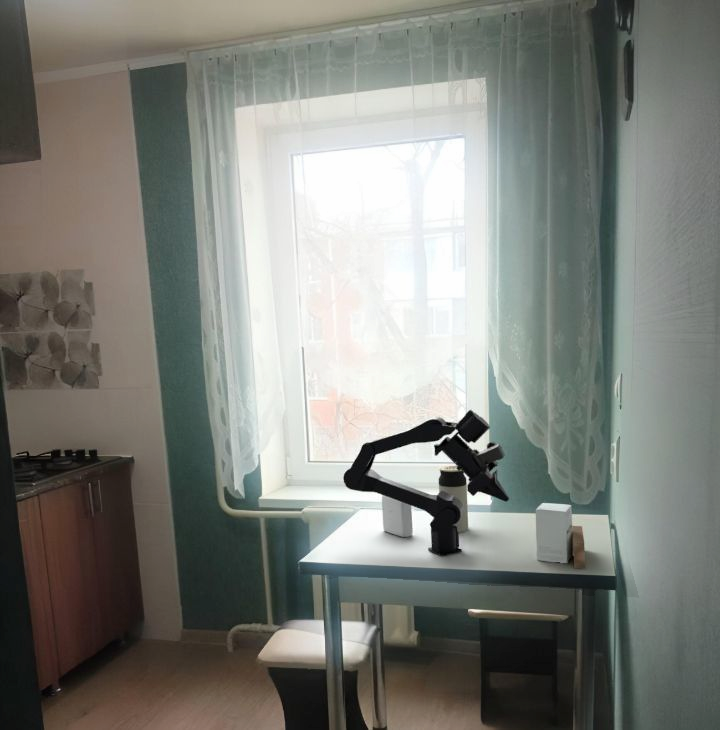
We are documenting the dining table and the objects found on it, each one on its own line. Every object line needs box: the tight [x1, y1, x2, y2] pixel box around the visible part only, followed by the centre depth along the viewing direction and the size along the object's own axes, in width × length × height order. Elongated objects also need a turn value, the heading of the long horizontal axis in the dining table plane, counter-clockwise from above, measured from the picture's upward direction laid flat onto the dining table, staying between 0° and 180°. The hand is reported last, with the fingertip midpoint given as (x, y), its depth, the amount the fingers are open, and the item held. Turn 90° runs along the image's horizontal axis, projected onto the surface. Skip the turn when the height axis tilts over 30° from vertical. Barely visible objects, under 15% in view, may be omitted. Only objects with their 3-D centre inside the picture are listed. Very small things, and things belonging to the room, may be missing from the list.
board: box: [572, 525, 586, 569], centre depth 150 cm, size 2×14×6 cm, turn 163°
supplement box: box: [535, 502, 573, 564], centre depth 152 cm, size 7×7×13 cm
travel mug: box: [438, 464, 469, 533], centre depth 179 cm, size 8×8×18 cm
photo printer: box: [381, 495, 414, 538], centre depth 178 cm, size 10×4×12 cm, turn 35°
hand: (508, 500), depth 155 cm, fingers closed
